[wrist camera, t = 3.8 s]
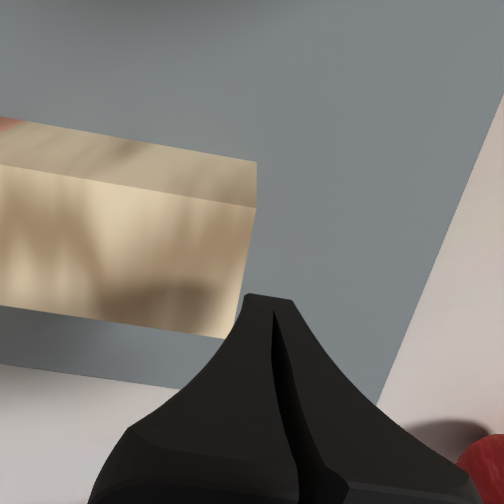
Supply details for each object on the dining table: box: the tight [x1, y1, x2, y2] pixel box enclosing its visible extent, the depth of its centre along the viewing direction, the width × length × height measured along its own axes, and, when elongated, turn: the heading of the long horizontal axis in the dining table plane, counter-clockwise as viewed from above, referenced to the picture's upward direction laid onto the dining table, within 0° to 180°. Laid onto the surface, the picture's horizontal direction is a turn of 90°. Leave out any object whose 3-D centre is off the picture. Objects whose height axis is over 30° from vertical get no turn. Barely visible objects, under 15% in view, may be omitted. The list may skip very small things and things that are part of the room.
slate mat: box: [0, 0, 504, 406], centre depth 20 cm, size 20×20×1 cm
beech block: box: [0, 116, 257, 339], centre depth 17 cm, size 5×5×10 cm
